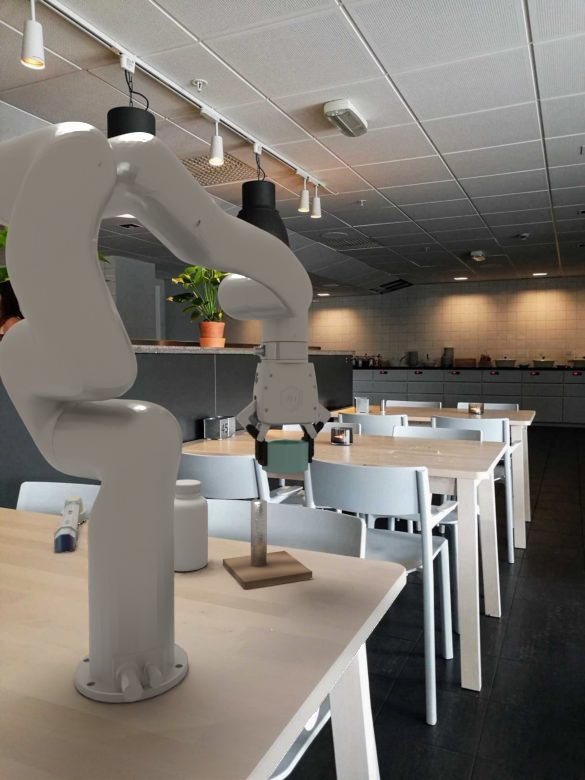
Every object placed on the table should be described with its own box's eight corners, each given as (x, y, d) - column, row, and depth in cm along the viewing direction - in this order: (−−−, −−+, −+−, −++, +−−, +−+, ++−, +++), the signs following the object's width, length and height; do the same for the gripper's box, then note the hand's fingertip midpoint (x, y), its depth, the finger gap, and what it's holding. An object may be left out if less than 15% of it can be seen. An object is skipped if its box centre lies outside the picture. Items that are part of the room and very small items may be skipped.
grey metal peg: (269, 565, 100) (269, 502, 100) (253, 567, 99) (253, 503, 98) (263, 560, 103) (263, 499, 102) (248, 562, 101) (248, 500, 101)
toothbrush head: (49, 534, 110) (62, 489, 133) (50, 567, 111) (63, 517, 134) (78, 532, 111) (86, 488, 135) (79, 564, 112) (86, 515, 136)
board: (312, 578, 97) (312, 571, 97) (244, 589, 92) (244, 582, 92) (284, 557, 108) (284, 550, 108) (222, 565, 103) (222, 559, 103)
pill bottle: (216, 561, 106) (216, 479, 105) (191, 575, 98) (190, 488, 98) (180, 555, 109) (180, 476, 108) (153, 568, 102) (153, 484, 101)
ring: (313, 471, 92) (313, 443, 92) (271, 474, 90) (271, 445, 90) (296, 464, 99) (296, 438, 99) (257, 467, 96) (257, 440, 96)
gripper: (239, 353, 87) (240, 471, 88) (343, 354, 93) (343, 463, 94) (226, 354, 94) (227, 463, 95) (324, 354, 100) (323, 456, 101)
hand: (284, 462), depth 94 cm, fingers closed on ring, 7 cm apart
